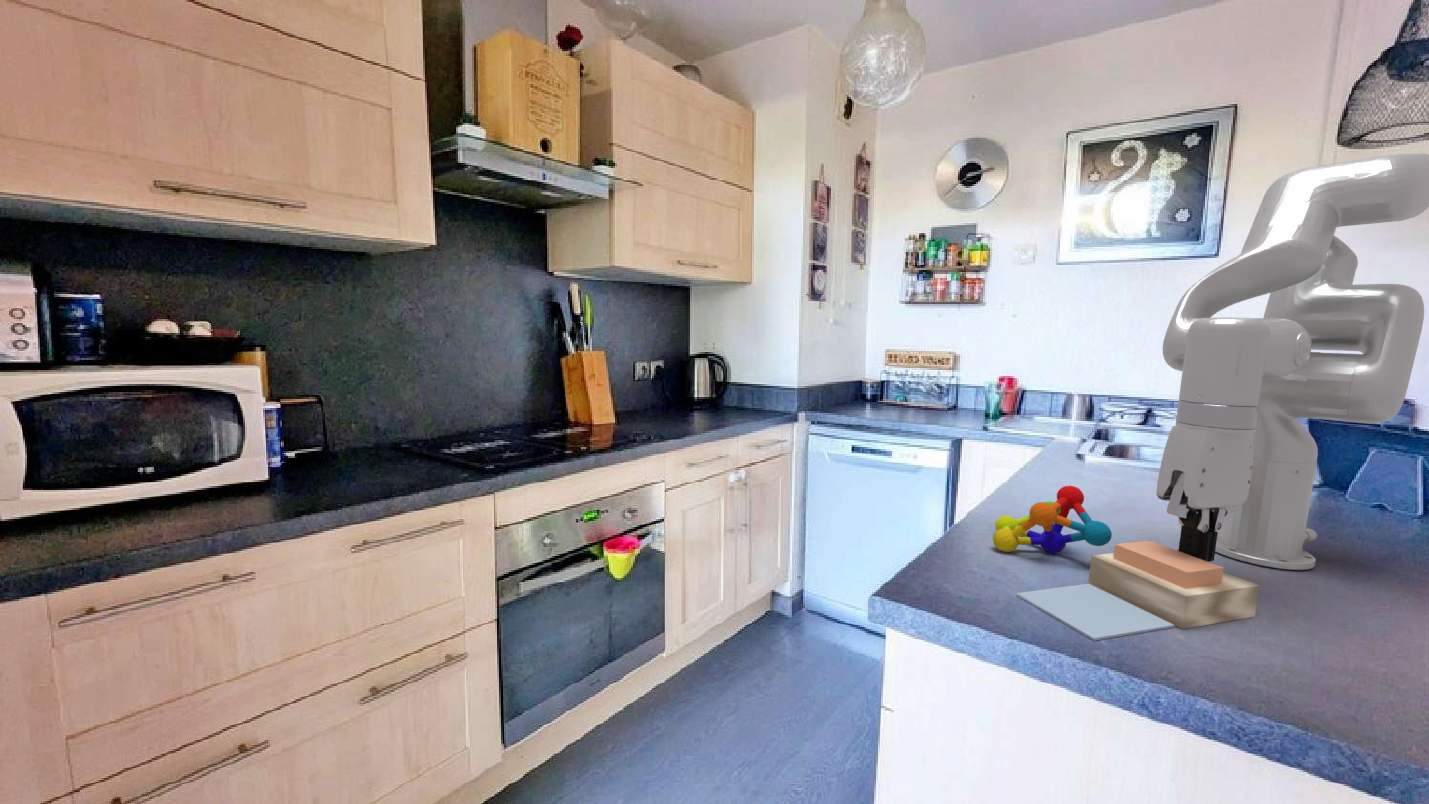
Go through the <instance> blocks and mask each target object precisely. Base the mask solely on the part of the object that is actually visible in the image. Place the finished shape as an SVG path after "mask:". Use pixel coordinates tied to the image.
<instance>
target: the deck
mask: <svg viewBox="0 0 1429 804" xmlns="http://www.w3.org/2000/svg"><path fill="white" fill-rule="evenodd" d="M1113 558H1114V552H1110V553H1103V554H1101V553H1100V554H1095V555H1092V554H1091V557H1090V567H1089V574H1088V575H1089V576H1088V582H1087V584H1091V585H1093V586H1095V587H1097V588H1099V589H1101V590H1103V591H1105V592H1107V593H1110V594H1112V595H1114V596H1116V597H1118V598H1120V599H1122V600H1124V601H1126V602H1128V603H1130V604H1132V605H1134V606H1136V607H1138V608H1141V609H1143V610H1145V611H1147V612H1149V613H1151V614H1153V615H1155V616H1157V617H1159V618H1161V619H1163V620H1165V621H1167V622H1169V623H1172V624H1174V627H1177V628H1179V629H1181V630H1183V629H1190V628H1196V627H1201V626H1208V625H1213V624H1218V623H1219V624H1220V623H1224V622H1225V623H1226V622H1233V621H1238V620H1243V619H1249V618H1255V617H1256V610H1257V604H1258V598H1259V591H1260V584H1256V583H1254V582H1251V581H1249V580H1246V579H1243V578H1241V577H1237V576H1235V575H1232V574H1229V573H1227V572H1224V571H1223V578H1222V583H1221V584H1214V585H1207V586H1200V587H1193V588H1186V589H1185V588H1183V587H1180V586H1178V585H1175V584H1173V583H1171V582H1168V581H1166V580H1163V579H1161V578H1159V577H1156V576H1154V575H1151V574H1149V573H1147V572H1144V571H1142V570H1140V569H1137V568H1135V567H1132V566H1130V565H1128V564H1125V563H1123V562H1120V561H1118V560H1116V559H1113Z"/></svg>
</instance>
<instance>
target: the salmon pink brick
mask: <svg viewBox="0 0 1429 804" xmlns="http://www.w3.org/2000/svg"><path fill="white" fill-rule="evenodd" d="M1113 553H1114V558H1113V559H1116V560H1118V561H1120V562H1123V563H1125V564H1128V565H1130V566H1132V567H1135V568H1137V569H1140V570H1142V571H1144V572H1147V573H1149V574H1151V575H1154V576H1156V577H1159V578H1161V579H1163V580H1166V581H1168V582H1171V583H1173V584H1175V585H1178V586H1180V587H1183V588H1185V589H1186V588H1193V587H1200V586H1207V585H1214V584H1221V583H1222V578H1223V572H1224V570H1225V567H1224V566H1220V565H1217V564H1215V563H1213V562H1211V561H1210V562H1208V561H1204V560H1202V559H1199V558H1196V557H1193V556H1190V555H1188V554H1185V553H1182V552H1179V551H1178V550H1176V549H1174V548H1172V547H1168V546H1166V545H1162V544H1160V543H1157V542H1154V541H1151V540H1142V541H1141V540H1140V541H1132V542H1125V543H1124V542H1122V543H1115V544H1114V551H1113Z"/></svg>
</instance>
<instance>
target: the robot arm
mask: <svg viewBox="0 0 1429 804" xmlns="http://www.w3.org/2000/svg"><path fill="white" fill-rule="evenodd" d="M1428 208H1429V154H1427V153H1424V152H1423V153H1401V154H1400V153H1398V154H1390V155H1389V154H1388V155H1381V156H1380V155H1379V156H1374V157H1369V158H1361V159H1355V160H1349V161H1347V160H1346V161H1342V162H1341V161H1340V162H1335V163H1328V164H1321V165H1316V166H1315V165H1314V166H1311V167H1305V168H1301V169H1297V170H1293V171H1291V172H1288V173H1285V174H1284V175H1282V176H1280V177H1279V178H1277V179H1276V180H1275V181H1273V183H1272V184H1271V185H1270V186H1269V187H1268V188H1267V190H1266V192H1265V193H1264V196H1263V197H1262V200H1261V203H1260V205H1259V208H1258V210H1257V212H1256V215H1255V217H1254V220H1253V222H1252V225H1251V227H1250V229H1249V232H1248V235H1247V237H1246V239H1245V241H1244V244H1243V247H1242V248H1241V251H1240V254H1238V255H1237V256H1235V257H1233V258H1231V259H1229V260H1227V261H1226V262H1224V263H1222V264H1221V265H1219V266H1218V267H1215V269H1213V270H1212V271H1210V272H1208V273H1207V274H1206V275H1204V276H1203V277H1201V278H1200V279H1199V280H1197V281H1196V282H1195V283H1194V284H1193V285H1192V286H1190V288H1188V289H1187V290H1186V291H1185V292H1184V293H1183V295H1182V296H1181V298H1180V300H1179V301H1178V303H1177V305H1176V308H1175V310H1174V311H1173V312H1174V313H1173V315H1172V317H1171V319H1170V321H1169V324H1168V326H1167V328H1166V332H1165V335H1164V338H1163V342H1162V356H1163V359H1164V361H1165V363H1166V364H1167V365H1168V366H1169V367H1171V369H1174V370H1176V371H1180V372H1182V373H1181V379H1180V388H1179V396H1178V402H1177V403H1178V404H1177V409H1176V418H1175V424H1174V425H1173V426H1172V428H1171V429H1170V432H1169V435H1168V437H1167V440H1166V444H1165V446H1164V451H1163V454H1162V459H1161V462H1160V467H1159V471H1158V477H1157V483H1156V490H1155V491H1156V492H1155V493H1156V497H1157V498H1158V499H1159V500H1162V501H1169V502H1168V504H1167V507H1166V513H1167V514H1169V515H1171V516H1175V517H1178V524H1179V525H1180V526H1181V527H1180V528H1181V530H1180V537H1179V543H1178V550H1177V551H1179V552H1182V553H1185V554H1188V555H1190V556H1193V557H1196V558H1199V559H1202V560H1204V561H1207V562H1210V563H1211V562H1214V560H1215V555H1216V553H1218V554H1221V555H1223V556H1226V557H1228V558H1231V559H1235V560H1238V561H1242V562H1243V563H1249V564H1253V565H1258V566H1263V567H1268V568H1273V569H1281V570H1290V571H1291V570H1292V571H1293V570H1295V571H1303V570H1305V571H1307V570H1311V569H1313V568H1315V566H1316V561H1317V560H1316V557H1314V556H1313V555H1312V554H1311V553H1309V552H1307V551H1306V550H1304V549H1303V546H1304V543H1305V542H1311V541H1315V540H1316V539H1317V537H1318V534H1317V532H1316V531H1315V530H1314V529H1312V528H1307V522H1308V516H1309V511H1310V504H1311V497H1312V493H1313V492H1312V491H1313V486H1314V479H1315V473H1316V467H1317V463H1318V462H1317V461H1318V455H1319V453H1318V452H1319V451H1318V446H1317V445H1318V444H1317V443H1316V441H1315V439H1314V437H1313V436H1312V435H1311V433H1310V431H1309V430H1308V429H1307V428H1306V427H1305V426H1304V425H1303V424H1302V423H1301V422H1300V421H1299V419H1300V418H1301V419H1317V420H1326V421H1327V420H1328V421H1336V422H1337V421H1338V422H1347V423H1357V424H1380V423H1381V424H1382V423H1385V422H1389V421H1390V420H1392V419H1394V418H1395V417H1396V416H1397V415H1398V414H1399V412H1400V410H1401V408H1402V407H1403V404H1404V402H1405V399H1406V395H1407V391H1408V388H1409V384H1410V380H1411V375H1412V371H1413V367H1414V364H1415V359H1416V355H1417V350H1418V346H1419V344H1420V339H1421V335H1422V330H1423V325H1424V317H1425V304H1424V300H1423V297H1422V295H1421V293H1420V292H1419V291H1417V290H1416V289H1415V288H1414V287H1411V286H1408V285H1405V284H1400V283H1368V284H1367V283H1363V284H1362V283H1361V284H1360V283H1359V284H1353V283H1354V279H1355V275H1356V271H1357V269H1358V264H1359V261H1358V256H1357V254H1356V253H1355V252H1354V251H1353V250H1352V249H1351V247H1350V246H1349V245H1347V244H1346V243H1345V242H1344V241H1343V240H1342V239H1340V238H1339V237H1337V236H1335V233H1336V230H1337V228H1341V227H1350V226H1363V225H1369V224H1371V225H1372V224H1374V225H1375V224H1383V223H1391V222H1393V223H1394V222H1403V221H1407V220H1409V219H1413V218H1415V217H1418V216H1419V215H1421V214H1422V213H1424V212H1425V211H1426V210H1427V209H1428ZM1267 294H1269V297H1268V300H1267V304H1266V307H1265V311H1264V314H1263V317H1260V318H1259V317H1255V318H1254V317H1213V316H1214V315H1216V314H1218V313H1219V312H1220V311H1223V310H1225V309H1226V308H1228V307H1231V306H1233V305H1236V304H1238V303H1241V302H1243V301H1247V300H1251V299H1253V298H1257V297H1260V296H1264V295H1267ZM1314 350H1315V351H1314ZM1316 350H1317V351H1316ZM1320 351H1344V352H1345V351H1346V352H1360V353H1341V352H1340V353H1338V352H1320Z"/></svg>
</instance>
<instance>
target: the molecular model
mask: <svg viewBox="0 0 1429 804" xmlns="http://www.w3.org/2000/svg"><path fill="white" fill-rule="evenodd" d="M1084 501H1085V496H1084V493H1083V491H1082V490H1081V489H1080V488H1078V487H1077V486H1073V485H1065V486H1061V488H1060V489H1058V490H1057V493H1056V501H1040V502H1036V503H1033V505H1031V507H1030V509H1029V515H1025V516H1022V517H1020V518H1016V519H1015V518H1014V517H1013V516H1010V515H1002V516H1000V517H998V518H997V519H996V521H995V523H994V528H995V532H994V534H993V537H992V542H993V545H994V546H995V548H996V549H997V550H999V551H1001V552H1003V553H1010V552H1013V551H1015V550H1016V549H1017V548H1018V547H1019V545H1021V546H1023V545H1027V546H1032V545H1033V546H1040V547H1041V548H1042V549H1043V551H1045V552H1048V553H1050V554H1058V553H1060V552H1062V551H1064V550H1065V548H1066V544H1070V543H1074V542H1079V541H1080V542H1081V541H1086V543H1087V544H1089V545H1091V546H1095V547H1101V546H1105V545H1107V544H1109V543H1110V541H1111V539H1112V538H1113V537H1112V530H1111V528H1110V527H1109V526H1108V525H1107V524H1106V523H1104V522H1102V521H1100V520H1099V521H1098V520H1093V519H1092V518H1091V516H1090V515H1089V514H1088V513H1087V511H1086V510H1085V508H1084V507H1083V506H1082V505H1083V503H1084ZM1071 510H1074V512H1075V513H1076V514H1077V516H1078V517H1079V518H1080V520H1081V521H1082V523H1080V522H1077V521H1075V520H1072V519H1069V518H1068V516H1069V513H1070V511H1071ZM1035 526H1039V527H1042V528H1043V532H1041V533H1039V532H1036V531H1034V530H1030V529H1032V528H1034V527H1035ZM1065 527H1066V528H1068V529H1072V530H1074V531H1077V532H1073V533H1068V534H1062V530H1063V529H1064V528H1065Z"/></svg>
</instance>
